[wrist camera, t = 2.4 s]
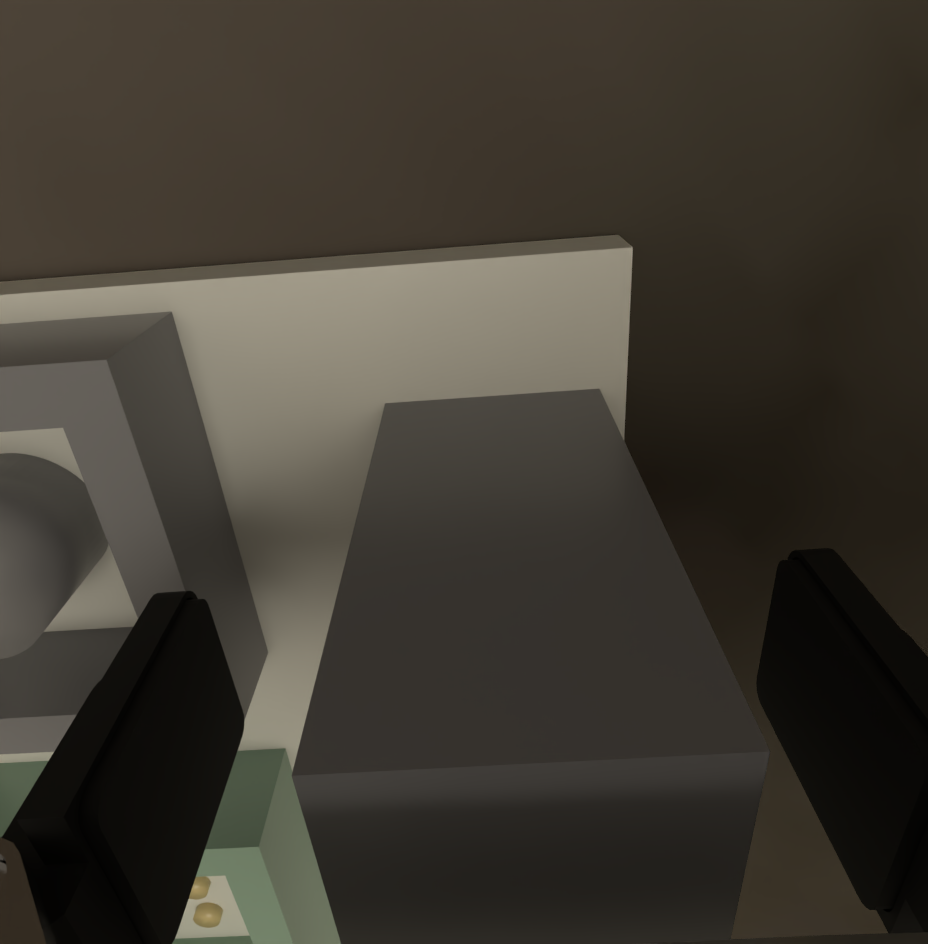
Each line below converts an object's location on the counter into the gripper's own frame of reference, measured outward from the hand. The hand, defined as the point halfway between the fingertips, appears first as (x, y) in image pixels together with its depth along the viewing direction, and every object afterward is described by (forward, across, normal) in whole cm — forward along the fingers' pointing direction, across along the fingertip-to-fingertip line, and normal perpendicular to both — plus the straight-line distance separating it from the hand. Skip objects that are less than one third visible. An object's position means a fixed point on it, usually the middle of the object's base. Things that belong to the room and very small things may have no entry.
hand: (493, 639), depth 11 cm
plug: (+3, 0, 0) cm, 3 cm away
